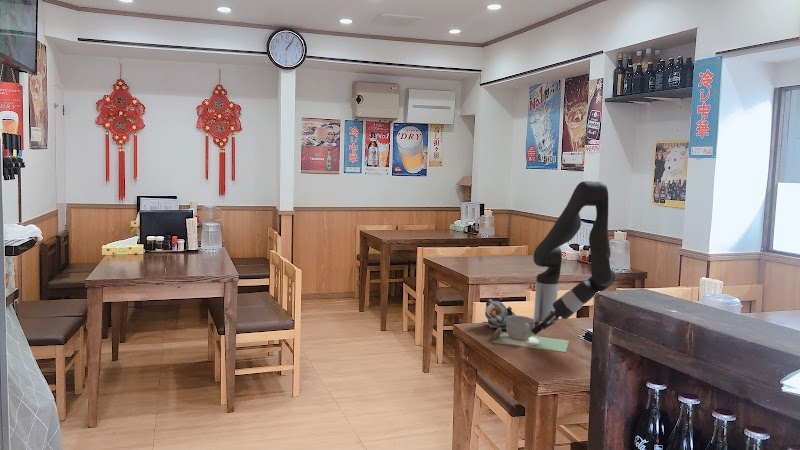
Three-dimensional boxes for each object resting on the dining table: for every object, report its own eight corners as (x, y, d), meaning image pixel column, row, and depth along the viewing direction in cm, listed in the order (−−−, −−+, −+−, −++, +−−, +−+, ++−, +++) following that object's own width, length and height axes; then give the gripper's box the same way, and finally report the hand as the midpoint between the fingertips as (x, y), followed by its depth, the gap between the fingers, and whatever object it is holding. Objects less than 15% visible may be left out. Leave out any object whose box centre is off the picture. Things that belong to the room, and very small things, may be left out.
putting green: (499, 332, 248) (499, 325, 248) (568, 341, 240) (569, 334, 239) (491, 342, 233) (492, 335, 233) (565, 352, 225) (566, 345, 224)
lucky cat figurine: (524, 332, 250) (516, 304, 244) (496, 342, 250) (487, 315, 244) (511, 312, 263) (504, 286, 258) (485, 323, 263) (477, 296, 257)
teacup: (504, 333, 246) (505, 313, 245) (531, 335, 245) (532, 315, 244) (508, 343, 232) (509, 322, 231) (537, 345, 231) (538, 324, 230)
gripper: (563, 293, 238) (528, 320, 243) (560, 299, 225) (524, 328, 230) (576, 308, 236) (541, 335, 241) (574, 315, 224) (538, 344, 229)
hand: (533, 332), depth 236 cm, fingers closed
